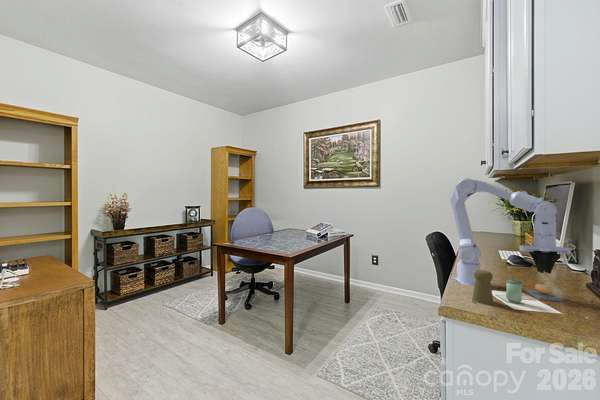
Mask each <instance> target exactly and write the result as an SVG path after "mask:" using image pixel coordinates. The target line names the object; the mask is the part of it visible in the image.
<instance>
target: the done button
mask: <svg viewBox="0 0 600 400" xmlns="http://www.w3.org/2000/svg"><path fill="white" fill-rule="evenodd" d="M534 285H535V286H534V287H535V290H534V291H539V292H543V293H552V294H553V287H552V286H551V285H547V284H541V283H536V284H534Z"/></svg>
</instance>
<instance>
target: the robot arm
mask: <svg viewBox="0 0 600 400" xmlns="http://www.w3.org/2000/svg"><path fill="white" fill-rule="evenodd" d="M476 193H489V194H491V195H495V196H497V197H500V198H503V199H505V200H508V201H509V204H510V205H511V206H513V207H516V208H519V209H521V210H523V211H527V212H529V213H532V212H534V214H535V215H534V216H535V219H534V221H533V245H531V244H530V245H529V244H528V245H527V244H526V245H525V244H524V245H522V244H521V245H520V244H519V249H518V250H519V251H520V252H528V253H529V255H530V256H531V258H532V260H533V262H534V265H535V267H536V271H537V273H540V274H545V273H547V274H551V273H552V271H553V269H554V266H555V264H556V263H557V261H558V260H559V259H560V258H561V254H567V255H568V254H569V255H570V254H571V252H572V251H571V248H570V247H564V246H557V245H556V243H557V222H556V220H557V217H556V214H557V213H558V209H557V206H556V205H555V203H553V202H551V201H548V200H544V198H543V197H539V198H538V197H536V196H533V195H531V194H528V191H525V190H523V191H515V192H511V191H509V190H507V189H504V188H502V187H499V186H496V185H494V184H491V183H488V182H485V181H482V180H478V179H477V180H476V179H472V178H470V177H464V178H461V179H460V180H459V181H458V182H457V183H456V184H455V186H454V189H453V192H452V194H451V198H450V205H451V209H452V213H453V216H454V221H455V225H456V229H457V233H458V237H459V253H458V256H459V261H458V262H457V264H456V277H454V278H453V279H454V280H456V281H457V282H458V283H459V284H462V285H467V286H475V280H476V279H475V277H474V272H475V271H476V270H481V261H480V260H479V258H480V257H481V256H482V255H481V254H482V251H481V249H480V248H479V247H478V245H477V242H476V240H475V238H474V236H473V232H472V227H471V222H470V219H469V215H468V212H467V208H466V203H465V202H466V201H467V200H468V199H469V198H470V197H471V196H472V195H474V194H476Z"/></svg>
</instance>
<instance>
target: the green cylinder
mask: <svg viewBox="0 0 600 400" xmlns="http://www.w3.org/2000/svg"><path fill="white" fill-rule="evenodd" d="M505 283H506V284H505V285H506V289H505V290H506V298H507V299H508V301H509V302H511V303H515V304H519V303H520V301H522V293H523V291H522V290H523V282H522V281H521V280H517V279H512V278H510V279H509V278H508V279H506V281H505Z"/></svg>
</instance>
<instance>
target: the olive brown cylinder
mask: <svg viewBox="0 0 600 400" xmlns="http://www.w3.org/2000/svg"><path fill="white" fill-rule="evenodd" d="M474 277H475V279H476V280H475V285H473V286H474V287H473V292H472V298H471V299H472V300H471V302H472V303H473V304H475V305H478V304H482V305H491V306H492V305H494V296H493V295H492V283H491V282H492V280H493V274H492V272H491V271H489V270H485V269H480V270H476V271H475V272H474Z"/></svg>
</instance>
